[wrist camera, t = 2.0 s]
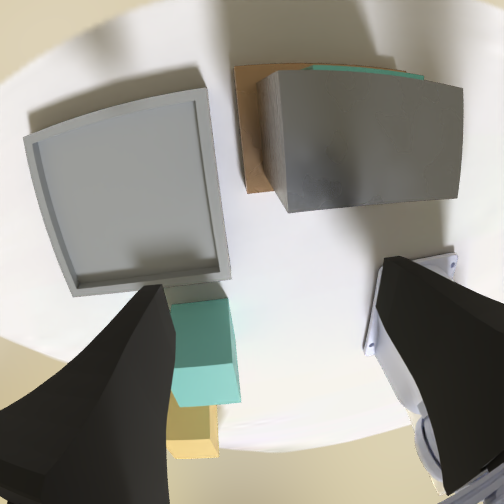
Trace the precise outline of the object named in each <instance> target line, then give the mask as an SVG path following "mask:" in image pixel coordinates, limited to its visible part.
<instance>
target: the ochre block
mask: <svg viewBox="0 0 504 504" xmlns="http://www.w3.org/2000/svg"><path fill="white" fill-rule="evenodd" d="M166 448H167V449H168V450H169V452H170V453H171V454H172V455H173V457H174V458H175V459H190V458H191V459H192V458H215V457H219V441H218V421H217V405H208V406H194V407H179V405H178V403H177V401H176V399H175V397H174V395H173V393H172V391H171V393H170V400H169V408H168V415H167V426H166Z"/></svg>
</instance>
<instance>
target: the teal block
mask: <svg viewBox="0 0 504 504" xmlns="http://www.w3.org/2000/svg"><path fill="white" fill-rule="evenodd" d="M170 315H171V318H172V321H173V325H174V328H175V331H176V353H175V366H174V373H173V380H172V386H171V391H172V393H173V395H174V397H175V399H176V401H177V403H178V405H179V407H194V406H208V405H220V404H230V403H240V402H241V395H240V385H239V374H238V364H237V353H236V342H235V335H234V329H233V324H232V318H231V313H230V307H229V301H228V298H225V299H217V300H209V301H200V302H192V303H183V304H173V305H172V307H171V312H170Z"/></svg>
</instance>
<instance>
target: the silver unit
mask: <svg viewBox="0 0 504 504" xmlns="http://www.w3.org/2000/svg"><path fill="white" fill-rule="evenodd" d="M234 78H235V88H236V98H237V107H238V117H239V127H240V136H241V146H242V155H243V165H244V175H245V184H246V191H247V194H250V193H259V192H268V191H275V192H276V194H277V196H278V197H279V199H280V201H281V202H282V204H283V206H284V207H285V209H286V211H287V212H288V213H295V212H304V211H313V210H323V209H332V208H342V207H353V206H363V205H375V204H386V203H398V202H411V201H425V200H439V199H455V198H457V197H458V189H459V181H460V171H461V160H462V145H463V88H459V87H455V86H451V85H446V84H441V83H436V82H431V81H426V80H424V76H422V75H416V74H410V73H406V71H401V70H394V69H386V68H378V67H369V66H358V65H344V64H322V63H281V64H259V65H244V66H234Z"/></svg>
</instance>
